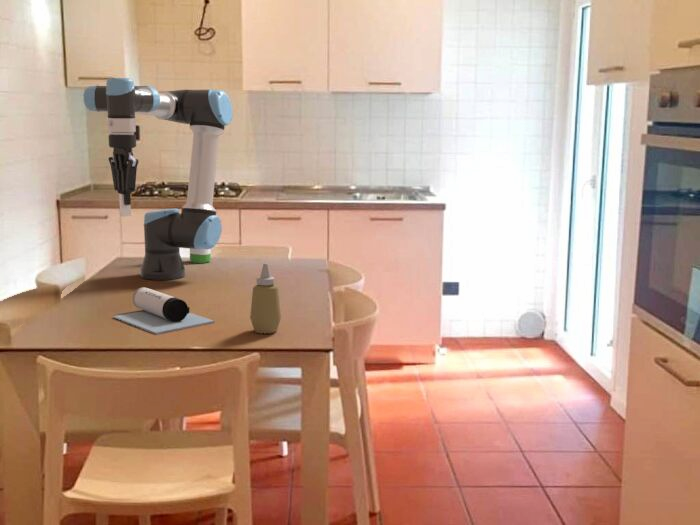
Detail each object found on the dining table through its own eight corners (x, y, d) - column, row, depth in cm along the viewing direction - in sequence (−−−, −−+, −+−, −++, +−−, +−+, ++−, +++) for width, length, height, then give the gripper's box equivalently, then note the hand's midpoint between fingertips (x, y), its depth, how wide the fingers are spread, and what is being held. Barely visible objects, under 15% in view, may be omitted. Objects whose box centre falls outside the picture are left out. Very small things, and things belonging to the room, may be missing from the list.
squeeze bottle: (250, 327, 211) (250, 261, 208) (281, 327, 212) (281, 261, 209) (249, 335, 204) (249, 266, 200) (281, 335, 204) (281, 266, 201)
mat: (113, 318, 218) (113, 316, 218) (170, 307, 231) (170, 306, 231) (156, 334, 203) (156, 332, 203) (214, 322, 215) (214, 320, 215)
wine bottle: (193, 259, 307) (192, 182, 301) (213, 260, 306) (212, 182, 300) (187, 263, 299) (185, 183, 294) (207, 264, 298) (205, 184, 293)
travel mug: (152, 308, 230) (189, 321, 215) (131, 308, 225) (167, 322, 211) (154, 286, 229) (191, 299, 215) (133, 287, 224) (169, 299, 210)
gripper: (98, 132, 227) (102, 214, 232) (121, 134, 218) (125, 219, 222) (122, 132, 232) (126, 212, 237) (145, 134, 223) (148, 217, 228)
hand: (125, 215), depth 230 cm, fingers closed
